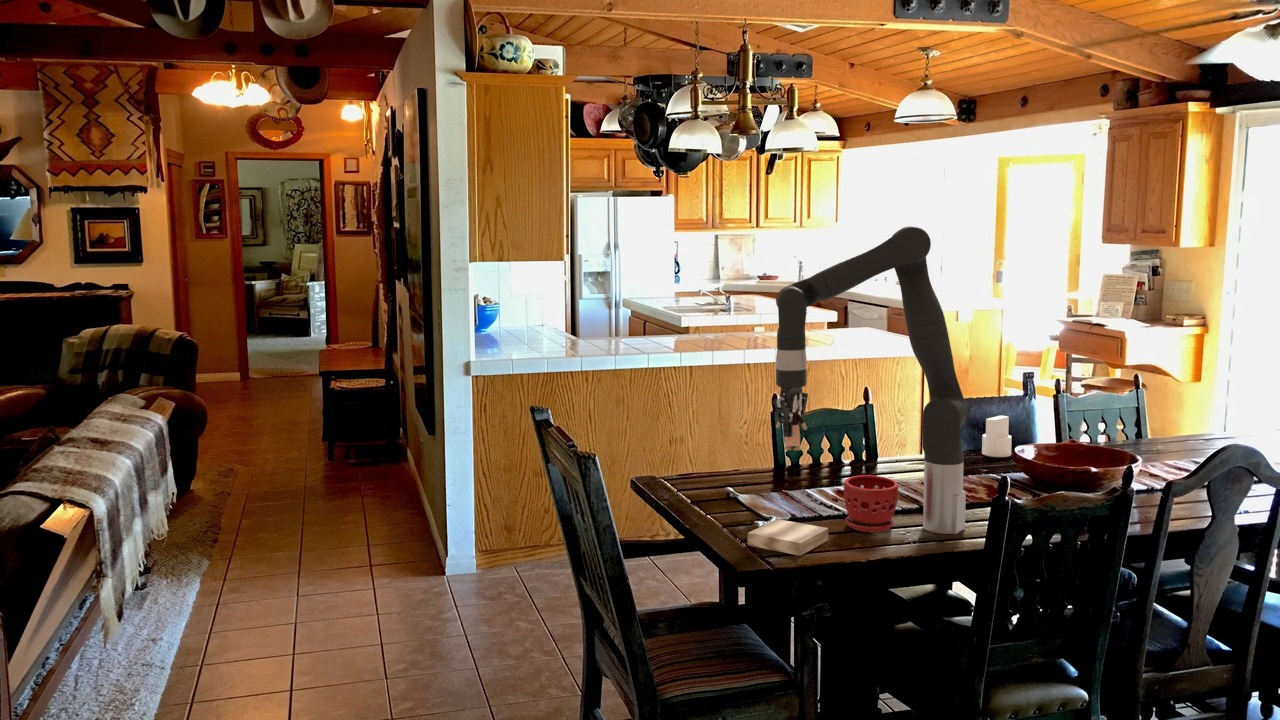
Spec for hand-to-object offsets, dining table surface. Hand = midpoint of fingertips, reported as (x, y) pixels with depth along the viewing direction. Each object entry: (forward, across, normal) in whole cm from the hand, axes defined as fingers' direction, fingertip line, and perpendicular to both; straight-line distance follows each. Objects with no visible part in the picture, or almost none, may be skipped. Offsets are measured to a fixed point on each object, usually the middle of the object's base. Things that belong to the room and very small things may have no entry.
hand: (791, 435), depth 256 cm
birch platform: (+23, -14, -7) cm, 28 cm away
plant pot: (+23, +8, -18) cm, 30 cm away
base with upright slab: (+23, +107, -17) cm, 111 cm away
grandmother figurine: (+4, 0, 0) cm, 4 cm away
